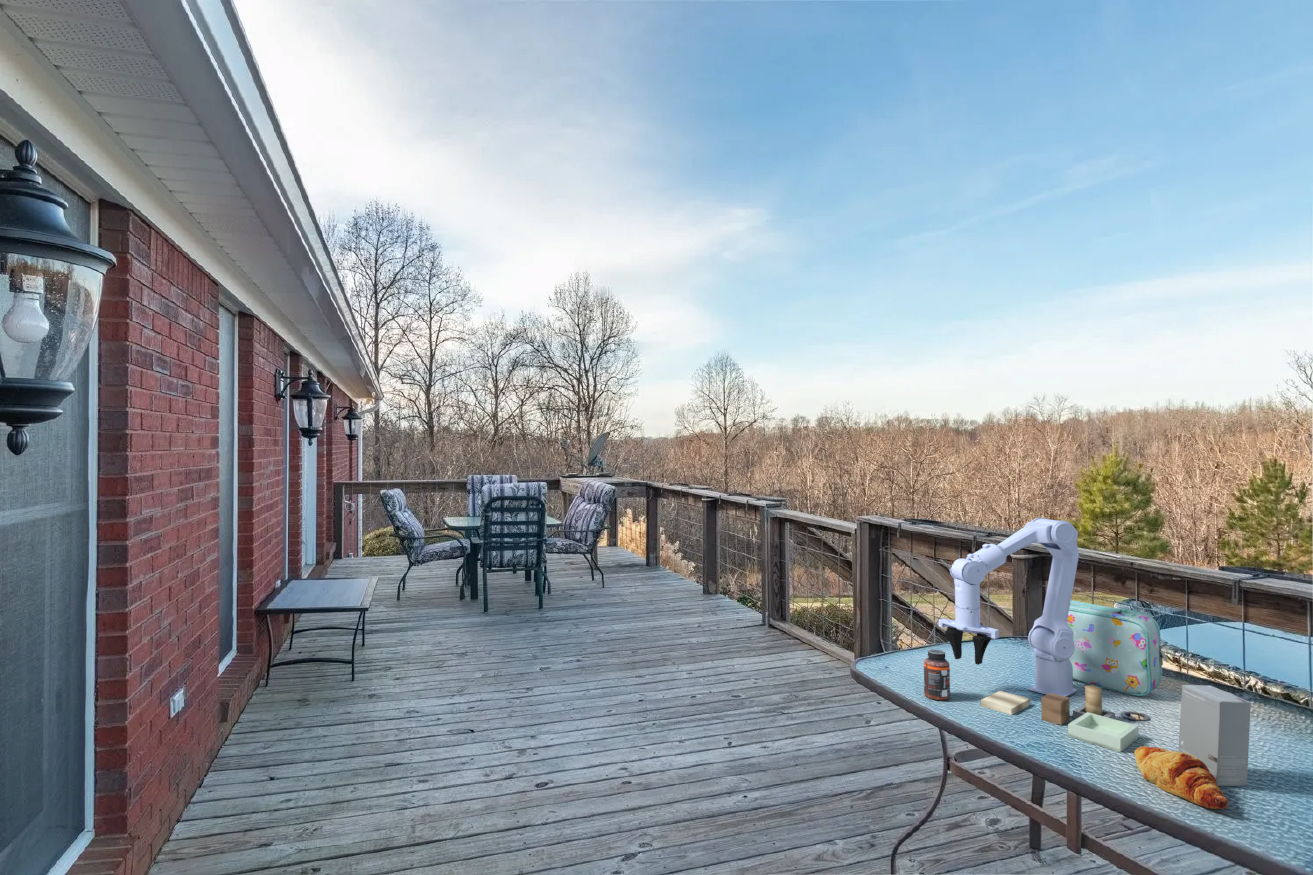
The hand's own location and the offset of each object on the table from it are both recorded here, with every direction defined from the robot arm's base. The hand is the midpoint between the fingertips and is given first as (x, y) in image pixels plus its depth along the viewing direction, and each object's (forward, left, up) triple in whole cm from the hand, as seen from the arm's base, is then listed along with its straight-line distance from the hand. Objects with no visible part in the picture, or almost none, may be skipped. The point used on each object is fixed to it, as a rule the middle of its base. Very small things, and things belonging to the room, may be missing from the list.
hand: (968, 660), depth 163 cm
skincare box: (+5, +49, -9) cm, 50 cm away
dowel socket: (-8, +25, -8) cm, 28 cm away
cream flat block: (0, +9, -9) cm, 13 cm away
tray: (+2, +30, -8) cm, 31 cm away
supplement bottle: (+8, -4, -9) cm, 12 cm away
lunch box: (-36, +18, -9) cm, 41 cm away
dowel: (-8, +25, -8) cm, 28 cm away
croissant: (+15, +46, -9) cm, 49 cm away
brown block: (0, +20, -8) cm, 22 cm away
